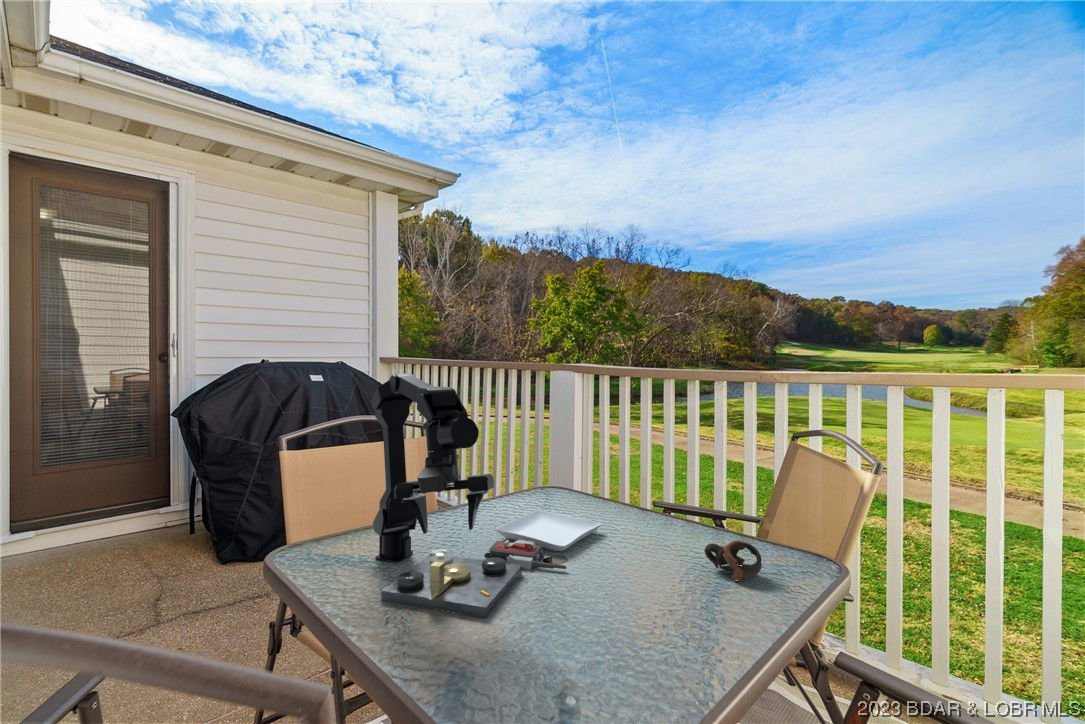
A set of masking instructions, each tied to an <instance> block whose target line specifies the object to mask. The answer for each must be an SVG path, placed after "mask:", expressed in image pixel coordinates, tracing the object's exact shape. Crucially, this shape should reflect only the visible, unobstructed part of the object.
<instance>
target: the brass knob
mask: <svg viewBox="0 0 1085 724" xmlns="http://www.w3.org/2000/svg"><path fill="white" fill-rule="evenodd" d="M470 576H471V568H470V566H469V565H467V564H463V563H453V564H448V565H446V566H444V563H443V562H436V561H435V562H434V563H432V564H431V565H430V588H431V595H435V596H439V595H440V594H441V593H442V592H443V591H444V590H445V589H446V588H448V587H449V586H450V585H451V584H452V583H456V582H462V581H465V580H467V579H469V578H470Z"/></svg>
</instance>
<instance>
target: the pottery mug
mask: <svg viewBox="0 0 1085 724" xmlns="http://www.w3.org/2000/svg"><path fill="white" fill-rule="evenodd" d="M745 549H747V550H748V551H749V552H750V554H751V555H753V556H755V557H756V561H755V563H753V564H747V563H746V564H745V559H744V558H742V557H741V556H738V555H737V554H738V553H739V552H740V551H744V550H745ZM704 553H705V556H706V558H707V559H708V560H709V561H710V562H711V563H713V565H714V567H715V568H716V569H719V566H721V565H723V566H724V564H725V565H728V566H729V567H730V568H731V569H732V570H733V574H732V575H731V580H732V581H734V580H738V581H739V582H741V581H742V580H745V579H746V580H747V579H750V578H752V577H755V576H758V574H759V572H761V569H762V566H763V565H762V555H761V553H760V552H759V550H758V549H757V548H756V547H755V546H754V545H752V544H751V543H749V542H746V541H743V540H732V541H730V542H729V543H728V544H725V545H723V546H721V545H719V544H716V543H708V544H707V545H706V546H705V548H704ZM737 564H738V565H742V567H739V566H737ZM721 567H722V566H721Z"/></svg>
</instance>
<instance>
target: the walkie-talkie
mask: <svg viewBox="0 0 1085 724" xmlns="http://www.w3.org/2000/svg"><path fill="white" fill-rule="evenodd" d="M483 555H484V556H483V557H484V558H485V559H487V558H492V557H497V558H502V559H504V560H506V563H508V564H516V565H522V569H526V570H532V569H533V568H545V569H564V570H567V565H565V564H557V563H550V562H541V561H540V559H541V560H543V559H544V557H545V549H544V548H542V546H537V545H536V544H535V542H533V541H525V540H517V541H514V542H510V540H509V539H506V540H505V541H499V540H498V541H496V542H494V543H493V544H492V545H491V546H490V547H489V552H485V553H484V554H483Z"/></svg>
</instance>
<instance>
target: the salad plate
mask: <svg viewBox="0 0 1085 724" xmlns="http://www.w3.org/2000/svg"><path fill="white" fill-rule="evenodd" d="M601 525H602V523H601V522H598V521H593V520H589V519H585V518H579V517H575V516H571V515H566V514H562V513H557V512H552V511H551V512H550V511H545V510H540V509H539V510H534V511H532V512H529V513H527V514H525V515H522V516H520V517H517V518H514V519H513V520H510V521H507V523H504V524H501V525H500V526H497V527H495V531H496V532H497V533H498V534H499V535H501V537H504V538H506V539H507V538H508V540H509V539H510V540H512V541H514V542H516V541H517V540H525V541H533V542H535V544H536V545H537V546H542V549H544V550H545V549H546V550H551V551H555V552H563V551H565V550H568V548H569V547H571V546H572V545H574V544H575V543H578V542H579V541H580V540H583V539H584V538H585V537H587V536H589V535H592V534H593V533H594V532H596V531H597V530H598V529H599V528H601Z"/></svg>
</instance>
